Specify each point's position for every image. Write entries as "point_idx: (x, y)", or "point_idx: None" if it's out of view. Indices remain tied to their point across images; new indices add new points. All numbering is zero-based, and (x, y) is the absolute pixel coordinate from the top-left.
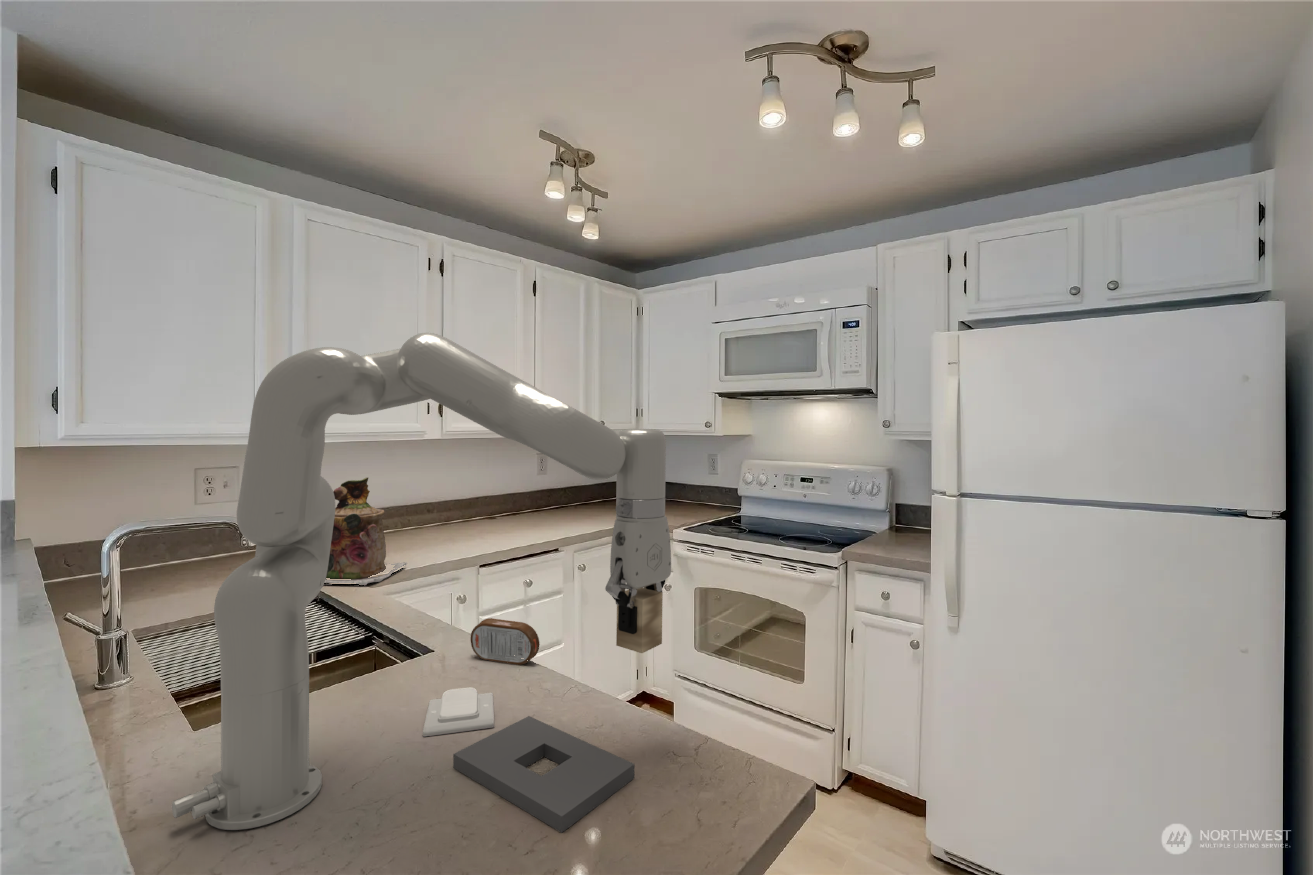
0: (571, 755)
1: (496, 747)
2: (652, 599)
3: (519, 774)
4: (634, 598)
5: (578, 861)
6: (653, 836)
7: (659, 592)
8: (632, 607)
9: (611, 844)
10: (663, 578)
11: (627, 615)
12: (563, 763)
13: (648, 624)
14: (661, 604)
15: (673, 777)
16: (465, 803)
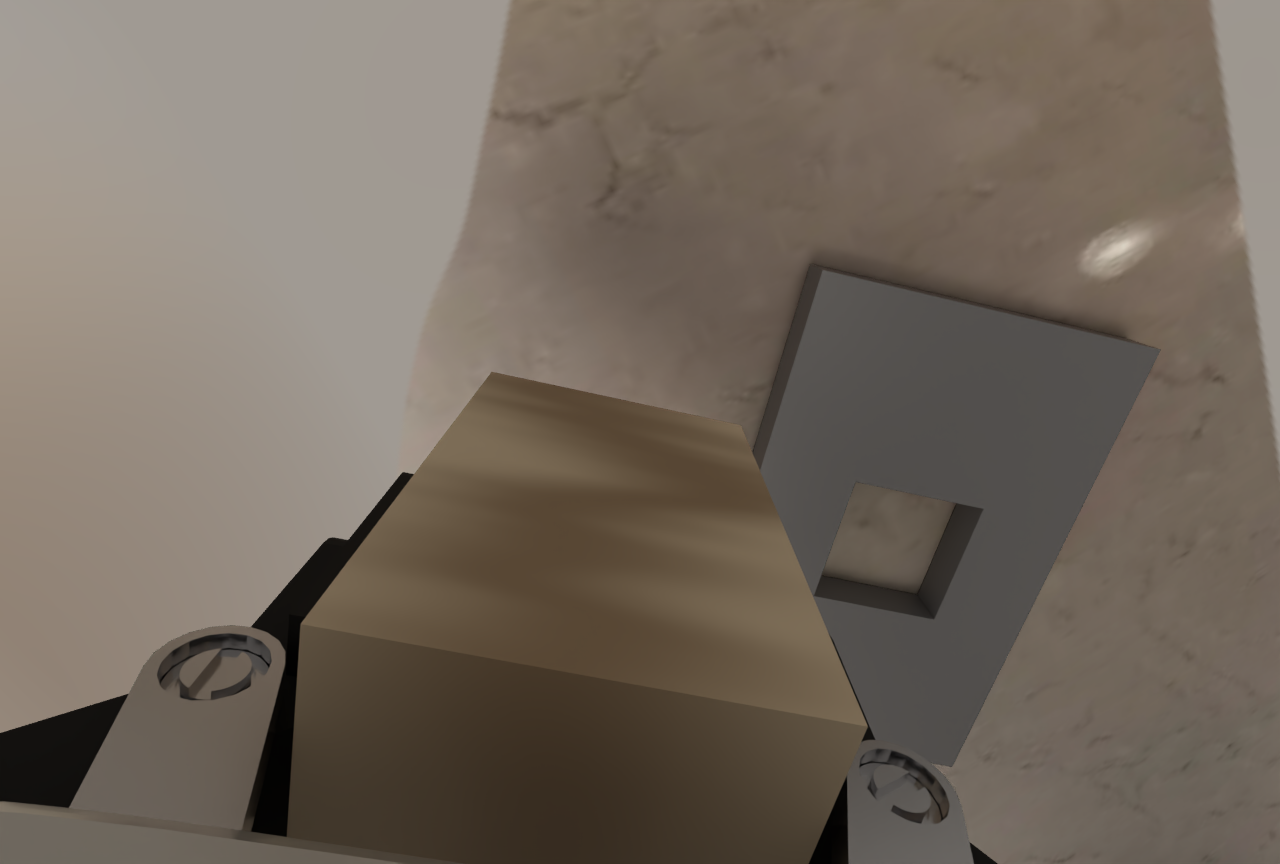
0: (849, 487)
1: (885, 695)
2: (609, 640)
3: (994, 566)
4: (877, 837)
5: (1228, 233)
6: (1082, 65)
7: (341, 663)
8: (875, 744)
9: (1144, 178)
10: (133, 853)
11: (863, 712)
12: (900, 486)
13: (676, 496)
14: (403, 525)
15: (755, 132)
16: (1065, 623)
